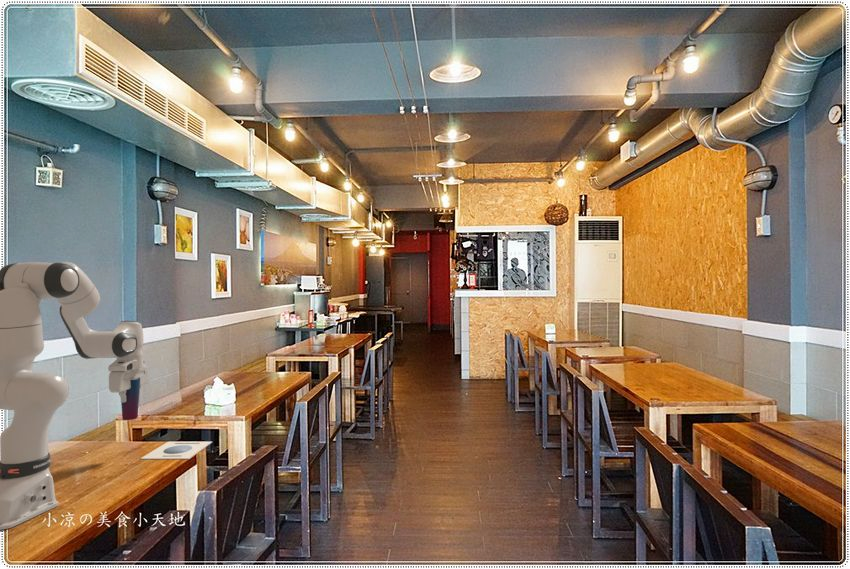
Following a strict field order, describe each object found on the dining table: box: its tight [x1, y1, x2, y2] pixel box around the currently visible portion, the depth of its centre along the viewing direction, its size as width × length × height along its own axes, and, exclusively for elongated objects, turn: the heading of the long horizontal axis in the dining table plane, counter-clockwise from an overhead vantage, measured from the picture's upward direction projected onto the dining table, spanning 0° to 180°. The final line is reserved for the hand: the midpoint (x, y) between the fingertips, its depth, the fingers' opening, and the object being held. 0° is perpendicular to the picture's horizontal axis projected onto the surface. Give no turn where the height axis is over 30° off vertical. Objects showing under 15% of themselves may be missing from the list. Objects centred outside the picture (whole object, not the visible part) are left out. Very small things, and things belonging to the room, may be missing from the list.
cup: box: [120, 378, 141, 421], centre depth 196 cm, size 7×7×15 cm
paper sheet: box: [140, 441, 213, 460], centre depth 200 cm, size 20×18×1 cm
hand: (130, 400), depth 196 cm, fingers closed on cup, 6 cm apart
